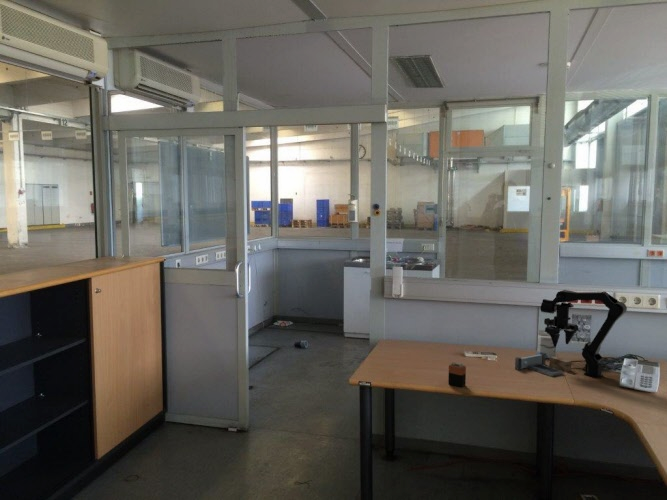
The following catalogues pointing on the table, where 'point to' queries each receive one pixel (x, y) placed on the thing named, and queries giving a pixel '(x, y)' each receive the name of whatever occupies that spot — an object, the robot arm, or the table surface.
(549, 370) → the keeper cradle
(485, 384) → the table surface
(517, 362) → the door frame
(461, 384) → the battery
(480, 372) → the table surface
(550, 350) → the ink box
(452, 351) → the table surface
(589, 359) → the robot arm
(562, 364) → the bar
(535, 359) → the door
